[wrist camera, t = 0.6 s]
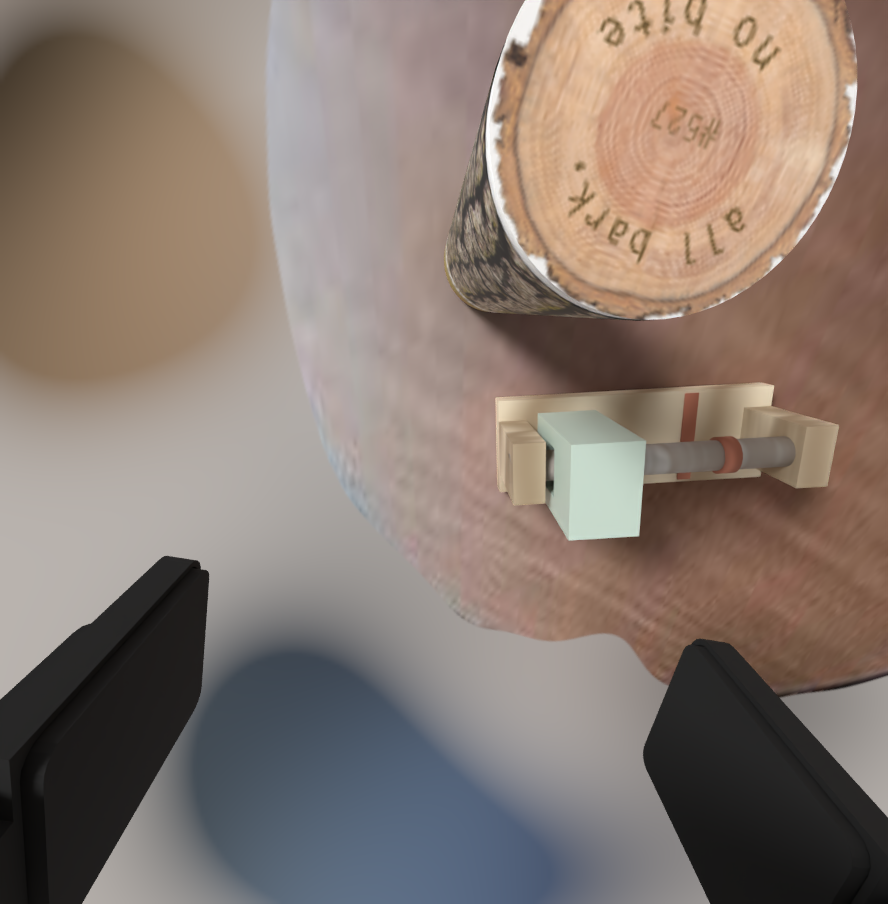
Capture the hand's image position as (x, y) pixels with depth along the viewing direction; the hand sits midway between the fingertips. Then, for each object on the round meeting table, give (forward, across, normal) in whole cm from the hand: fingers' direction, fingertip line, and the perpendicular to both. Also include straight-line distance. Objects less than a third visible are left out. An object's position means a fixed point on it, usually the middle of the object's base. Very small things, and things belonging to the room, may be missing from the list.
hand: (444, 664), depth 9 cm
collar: (+24, -10, +1) cm, 26 cm away
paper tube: (+28, -2, -10) cm, 29 cm away
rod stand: (+27, -15, 0) cm, 31 cm away
